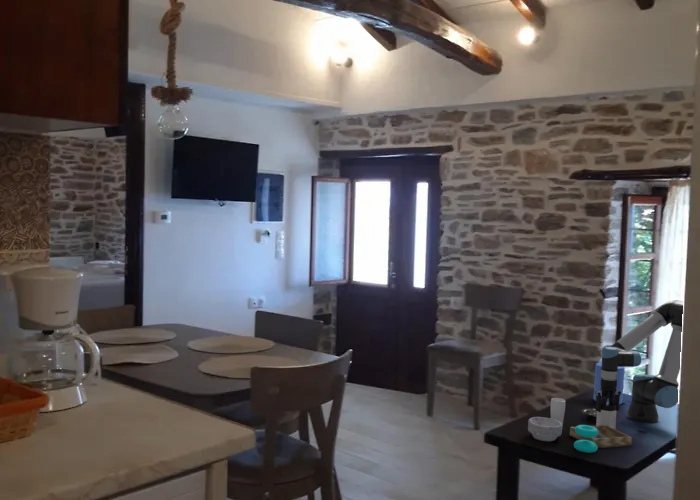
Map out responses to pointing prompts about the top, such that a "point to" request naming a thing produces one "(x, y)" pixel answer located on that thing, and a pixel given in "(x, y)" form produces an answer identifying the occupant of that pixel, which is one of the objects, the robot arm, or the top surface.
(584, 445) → the donuts
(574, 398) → the top surface
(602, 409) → the jar
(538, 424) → the light grey speckled bowl
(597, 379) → the water jug
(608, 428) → the crate
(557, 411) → the light grey cylinder
